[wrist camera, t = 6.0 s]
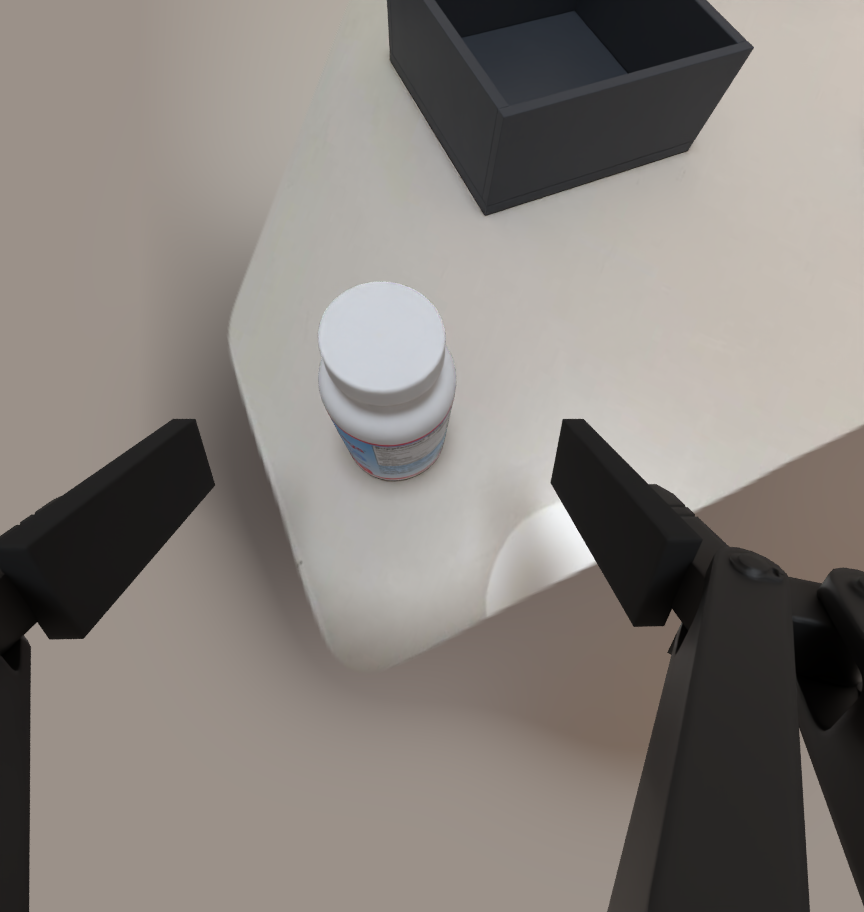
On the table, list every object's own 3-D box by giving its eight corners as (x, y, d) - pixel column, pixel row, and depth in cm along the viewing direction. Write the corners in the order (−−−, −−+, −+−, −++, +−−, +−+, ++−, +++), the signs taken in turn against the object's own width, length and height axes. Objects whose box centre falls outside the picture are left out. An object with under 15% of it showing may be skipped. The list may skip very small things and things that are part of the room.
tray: (389, 60, 35) (383, -57, 28) (574, 15, 38) (607, -100, 31) (484, 215, 30) (503, 117, 23) (687, 150, 33) (754, 47, 26)
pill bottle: (339, 405, 25) (281, 280, 14) (430, 385, 26) (440, 250, 15) (359, 494, 23) (311, 429, 13) (455, 470, 24) (487, 387, 13)
